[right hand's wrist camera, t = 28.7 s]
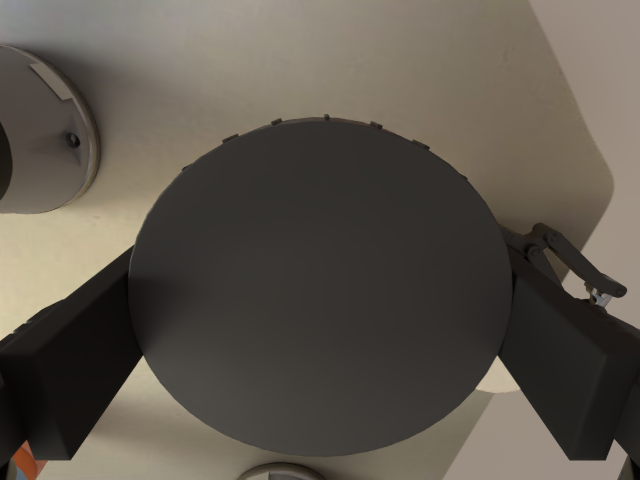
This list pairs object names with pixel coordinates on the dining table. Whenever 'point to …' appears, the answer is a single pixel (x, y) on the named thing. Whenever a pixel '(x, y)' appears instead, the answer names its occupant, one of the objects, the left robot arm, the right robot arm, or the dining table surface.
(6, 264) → the dining table surface
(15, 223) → the dining table surface
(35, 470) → the cup with straw
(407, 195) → the lid
